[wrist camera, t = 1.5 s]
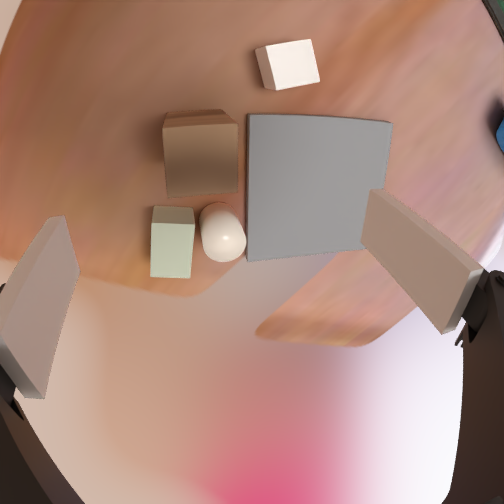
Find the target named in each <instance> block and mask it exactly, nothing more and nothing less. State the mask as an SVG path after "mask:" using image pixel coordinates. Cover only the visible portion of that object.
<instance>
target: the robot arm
mask: <svg viewBox="0 0 504 504" xmlns="http://www.w3.org/2000/svg"><path fill="white" fill-rule="evenodd" d="M360 242H361V243H362V244H363V245H364V246H365V247H366V248H367V249H368V250H369V252H370V253H371V254H372V255H373V256H374V257H375V258H376V259H377V260H378V261H379V262H380V263H381V265H382V266H383V267H384V268H385V269H386V270H387V271H388V272H389V273H390V275H391V276H392V277H393V278H394V279H395V280H396V281H397V282H398V284H399V285H400V286H401V287H402V288H403V289H404V290H405V292H406V293H407V294H408V295H409V296H410V297H411V299H412V300H413V301H414V302H415V303H416V304H417V306H418V307H419V308H420V309H421V310H422V311H423V313H424V314H425V315H426V316H427V318H428V319H429V320H430V321H431V322H432V324H433V325H434V326H435V327H436V328H437V330H438V331H439V332H440V333H441V335H442V334H445V333H448V332H450V331H453V330H455V329H456V327H457V325H458V323H459V321H460V319H461V317H463V318H464V320H465V321H466V323H465V325H464V327H463V329H462V331H461V333H460V335H459V337H458V338H457V340H456V342H455V346H457V345H458V343H459V342H460V341H461V340H463V343H462V345H461V347H463V392H462V409H461V421H460V430H459V439H458V447H457V453H456V460H455V466H454V472H453V477H452V482H451V487H450V491H449V493H448V495H447V497H446V498H445V500H444V501H443V502H442V504H504V272H501V271H497V270H494V271H491V272H490V273H488V272H487V271H486V270H485V269H484V268H483V267H482V266H481V265H480V264H479V263H478V262H477V261H475V260H474V259H473V258H472V257H471V256H470V255H469V254H467V253H466V252H465V251H464V250H463V249H461V248H460V247H459V246H458V245H457V244H455V243H454V242H453V241H452V240H451V239H449V238H448V237H447V236H446V235H444V234H443V233H442V232H441V231H439V230H438V229H437V228H436V227H434V226H433V225H432V224H430V223H429V222H428V221H427V220H425V219H424V218H423V217H421V216H420V215H419V214H417V213H416V212H415V211H413V210H412V209H411V208H409V207H408V206H407V205H405V204H404V203H402V202H401V201H400V200H398V199H397V198H395V197H394V196H393V195H391V194H390V193H388V192H387V191H386V190H384V189H370V190H369V196H368V202H367V208H366V213H365V219H364V224H363V229H362V235H361V240H360ZM79 274H80V269H79V265H78V262H77V259H76V256H75V252H74V249H73V245H72V242H71V238H70V234H69V231H68V227H67V223H66V219H65V215H61V216H55V217H49V218H48V219H47V221H46V222H45V223H44V225H43V226H42V228H41V229H40V231H39V232H38V233H37V235H36V236H35V238H34V239H33V241H32V242H31V244H30V245H29V247H28V248H27V250H26V251H25V253H24V255H23V256H22V258H21V259H20V261H19V263H18V264H17V266H16V267H15V269H14V271H13V272H12V274H11V276H10V278H9V279H8V281H7V283H5V284H2V285H1V287H0V504H85V503H84V502H83V501H82V500H81V498H80V497H79V496H78V495H77V493H76V492H75V491H74V489H73V488H72V487H71V486H70V484H69V483H68V481H67V480H66V479H65V477H64V476H63V475H62V473H61V472H60V471H59V469H58V468H57V466H56V465H55V463H54V462H53V460H52V459H51V457H50V456H49V454H48V453H47V451H46V450H45V448H44V447H43V445H42V443H41V442H40V440H39V438H38V437H37V435H36V434H35V432H34V430H33V428H32V427H31V425H30V423H29V421H28V419H27V418H26V416H25V414H24V412H23V410H22V408H21V406H20V405H19V403H18V401H17V400H16V399H15V398H14V397H13V396H14V392H15V388H16V387H17V388H18V390H19V391H20V392H21V393H22V395H23V396H24V397H25V398H36V399H45V394H46V389H47V384H48V379H49V375H50V371H51V367H52V363H53V359H54V355H55V351H56V347H57V344H58V340H59V336H60V333H61V329H62V326H63V322H64V319H65V316H66V313H67V309H68V306H69V303H70V300H71V297H72V294H73V291H74V288H75V286H76V283H77V280H78V277H79Z"/></svg>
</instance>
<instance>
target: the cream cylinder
mask: <svg viewBox="0 0 504 504" xmlns="http://www.w3.org/2000/svg"><path fill="white" fill-rule="evenodd" d="M199 225H200V231H201V237H202V243H203V248H204V251H205V253H206V255H207V256H208V257H209V258H211V259H212V260H215V261H218V262H228V261H231V260H234V259H236V258H237V257H239V256H240V255H241V254H242V252H243V251H244V249H245V247H246V236H245V234H244V231H243V229H242V226H241V224H240V222H239V219H238V217H237V214H236V212H235V210H234V209H233V208H232V207H231V206H230V205H228V204H226V203H223V202H215V203H212V204H209V205H208V206H206V207H205V208H204V209H203V210H202V212H201V214H200V217H199Z"/></svg>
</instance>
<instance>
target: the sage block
mask: <svg viewBox="0 0 504 504" xmlns="http://www.w3.org/2000/svg"><path fill="white" fill-rule="evenodd" d="M194 231H195V220H194V213H193V208H191V207H173V206H154V208H153V215H152V224H151V277H166V278H190V273H191V261H192V251H193V241H194Z"/></svg>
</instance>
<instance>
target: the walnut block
mask: <svg viewBox="0 0 504 504" xmlns="http://www.w3.org/2000/svg"><path fill="white" fill-rule="evenodd" d="M162 133H163V148H164V162H165V175H166V186H167V197H168V198H176V197H187V196H198V195H210V194H223V193H237V192H238V123H237V122H236V121H235V120H233V119H232V118H231V117H230V116H229V115H227V114H226V113H225V112H224V111H223V110H221V109H216V110H197V111H182V112H170V113H167V114H166V118H165V121H164V124H163V127H162Z"/></svg>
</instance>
